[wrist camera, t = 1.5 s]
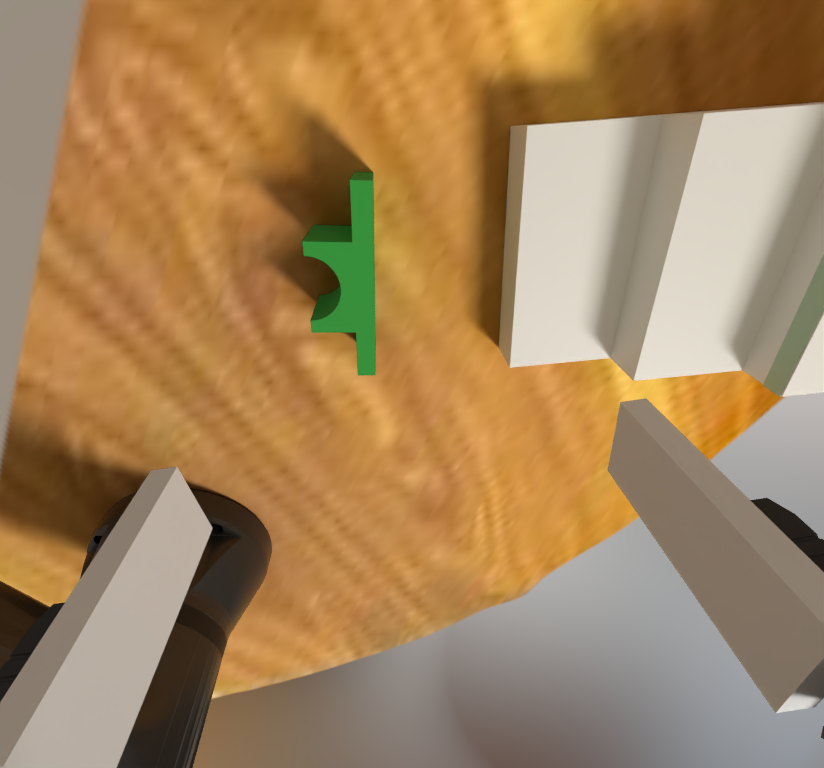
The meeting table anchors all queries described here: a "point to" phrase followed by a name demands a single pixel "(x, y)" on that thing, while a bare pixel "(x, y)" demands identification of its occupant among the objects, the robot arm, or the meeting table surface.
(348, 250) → the pipe clamp
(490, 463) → the meeting table surface
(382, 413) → the meeting table surface
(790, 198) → the stepped riser
